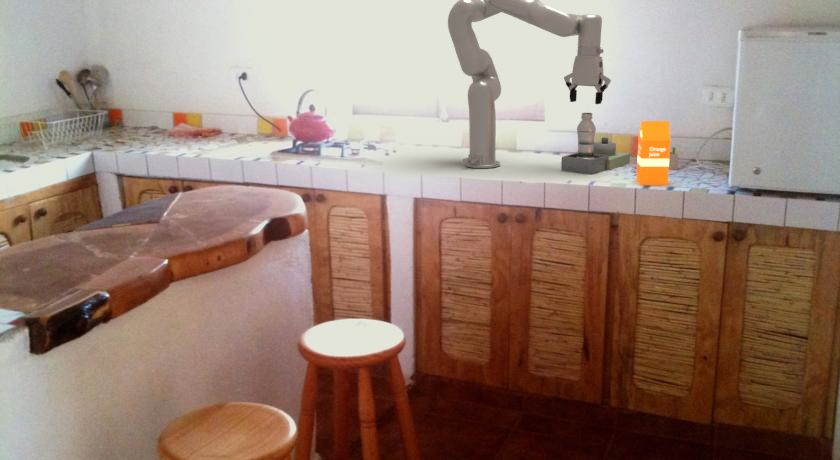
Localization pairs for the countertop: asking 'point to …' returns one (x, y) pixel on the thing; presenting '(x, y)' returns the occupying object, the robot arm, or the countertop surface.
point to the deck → (616, 162)
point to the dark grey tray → (584, 164)
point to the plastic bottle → (586, 137)
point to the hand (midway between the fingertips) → (585, 102)
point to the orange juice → (653, 153)
